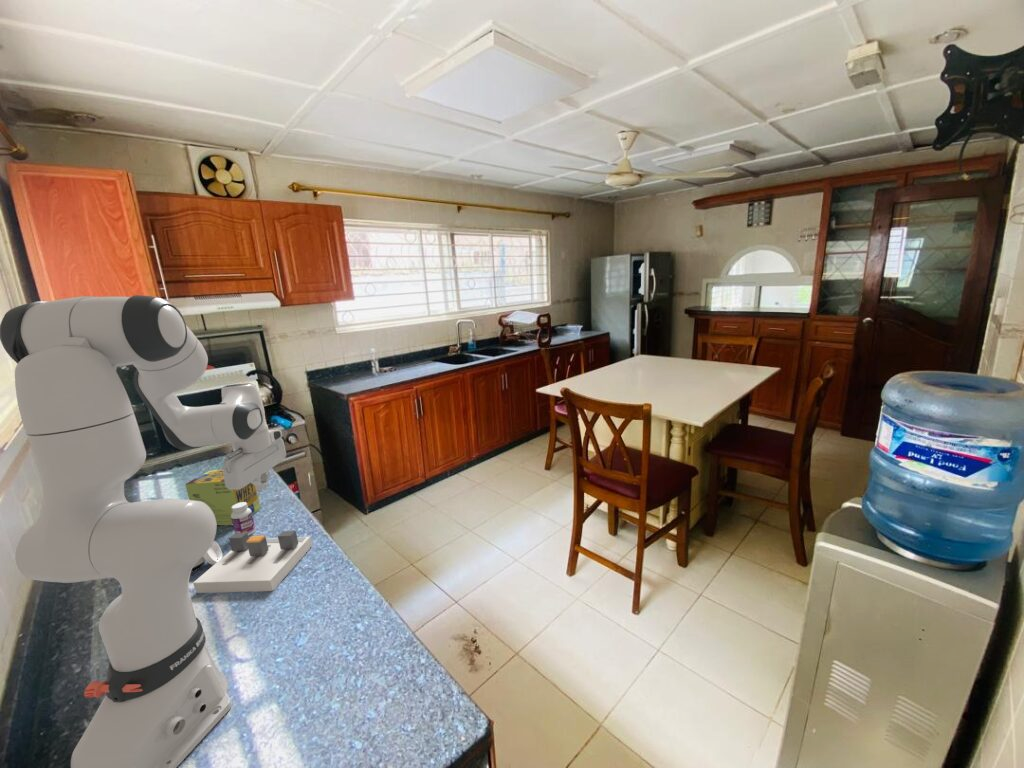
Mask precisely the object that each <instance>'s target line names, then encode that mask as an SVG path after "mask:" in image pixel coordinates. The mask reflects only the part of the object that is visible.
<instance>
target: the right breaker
mask: <svg viewBox="0 0 1024 768" xmlns="http://www.w3.org/2000/svg"><path fill="white" fill-rule="evenodd" d="M297 537H298V536H297V532H296V530H283V531H282V532H281V533H280V534H278V535H277V538H278V540H279V544H280V548H281V549H294V548H295V547H296V546H297V545H298V539H297Z"/></svg>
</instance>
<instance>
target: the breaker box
mask: <svg viewBox="0 0 1024 768" xmlns="http://www.w3.org/2000/svg"><path fill="white" fill-rule="evenodd" d="M297 539H298V545H297V546H296V547H295V548H294V549H281V548H280V544H279V540H278V537H267V538H266V541H267V545H268V549H269V550H268V551H267V552H266V553H265V554H264V555H263V556H250V554H249V550H248V548H247V549H246V550H245V551H232V549H231V550H230V551H228V552H227V553H226V554H225V555H224V556H222V558H221V559H220V560H219V561H218V562H217V563H216V564H214V565H212V566H211V567H210V568H209V569H207V570H206V571H205V572H204V573H203V574H201V575H200V576H199V577H198V578H197V579H196V580H194V581H193V582H192V583H193V587H194V591H195V594H208V593H209V594H213V593H215V594H217V593H218V594H219V593H250V592H253V593H255V592H273V591H275V589H276V588H277V587H278V586H279V585H280V583H281V582H282V581H283V580H284V579H285V578H286V576H287V575H288V574H290V572H291V571H292V570H293V569H294V568H295V567H296V565H297V564H298V563H299V562H300V561H301V559H302V558H303V557H304V556H305V555H306V554H307V553H308V552H309V550H311V548H313V543H312V542H313V541H312V538H311V536H297ZM310 547H311V548H310ZM306 552H307V553H306ZM299 560H300V561H299Z"/></svg>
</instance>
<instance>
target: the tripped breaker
mask: <svg viewBox="0 0 1024 768" xmlns="http://www.w3.org/2000/svg"><path fill="white" fill-rule="evenodd" d="M266 537H267V536H266V535H263V534H262V535H251V536H250V537H249V539H248V540H247V541H246V542H247V546H248V550H249V554H250V556H263V555H264V554H265V553H266V552H267V551H268V550H269V549H268V545H267V541H266Z"/></svg>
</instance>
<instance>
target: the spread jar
mask: <svg viewBox="0 0 1024 768" xmlns="http://www.w3.org/2000/svg"><path fill="white" fill-rule="evenodd" d="M221 558H223V552H222V548H221V546H220V545H219V544H218V542H217V541H215V540H214V541H213V543H212V545H211V546H210V548H209V550H208V551H207V552H206V553H205V554H204V556H203V557H202V558H200V559H199V560H198V561H197V562H196V563H195V565H194V566H193V568H192V570H191V573H193V572H192V571H194V572H196V571H197V570H199V569H200V568H202V567H203V566H204V565H205V563H206V562H207V563H208V564H209V565H212V566H213V565H214V564H216V563H217V562H218V561H219V560H220V559H221ZM217 559H218V560H217ZM202 565H203V566H202ZM198 568H199V569H198ZM196 569H197V570H196ZM195 570H196V571H195Z"/></svg>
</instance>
